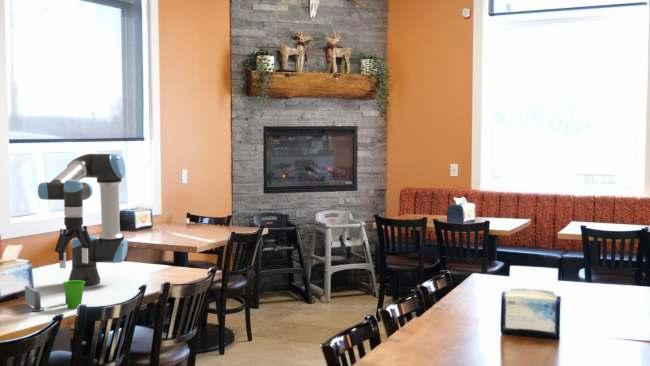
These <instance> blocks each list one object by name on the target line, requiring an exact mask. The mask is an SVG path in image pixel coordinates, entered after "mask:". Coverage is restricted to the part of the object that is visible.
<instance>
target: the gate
mask: <svg viewBox="0 0 650 366" xmlns="http://www.w3.org/2000/svg"><path fill="white" fill-rule="evenodd" d="M24 298H25V300H24V301H25V302H26V303H27V304H29V305H30V306H31V307H33V308H35V309H40V308H41V299H42V298H41V290H37V289H35V288H34V287H31V286H30V285H24Z"/></svg>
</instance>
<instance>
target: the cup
mask: <svg viewBox="0 0 650 366" xmlns="http://www.w3.org/2000/svg"><path fill="white" fill-rule="evenodd" d="M84 283H85V281H80V280H73V281H68V280H66V281H64V282H63V283H62V284H63V286H64V292H65V293H66V299H67V304H66V305H67V308H68V309H69V308H70V310H75V309H74V308H77V306H78V305H79V304H81V305H82V301H83V294H84V287H85V286H84ZM66 299H65V300H66Z"/></svg>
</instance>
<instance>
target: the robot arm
mask: <svg viewBox="0 0 650 366" xmlns="http://www.w3.org/2000/svg"><path fill="white" fill-rule="evenodd" d="M125 176H126V164H125V160H124V158H123V157H122V156H121V155H120V154H117V153H86V154H83V155H80V156H78V157H76V158H74V159H72V160H71V161H70V162H69V163H68V164H67V165H66V168H65V169H64V170H62V171H61V172H60V173H59V174H58V175H56V176H55V177H54V178H52V180H50V181H49V182H46V181H44V182H40V183H39V185H38V187H37V194H38V195H37V196H38V198H39V199H40V200H45V201H46V200H47V201H50V200H51V201H64V202H63V204H64V205H63V208H64V209H63V210H64V211H63V212H64V213H63V215H64V224H63V225H64V226H65V229H64V228H61V229H60V230H59V236H58V239H57V242H56V245H55V248H54V252H56V254H57V253H58V261H59V268H60V269H66V268H67V253H66V250H67V247H68V246H69V244H70V242H71V270H70V273H69V277H68V279H67V281H73V280H80V281H85V283H84V287H86V286H88V287H89V286H95V285H98V284H100V283H101V276H100V274H99V271H98V267H97V266H98V265H97V263H108V264H118V263H122V262H124V261H125V259H126V255H127V253H128V246H129V245H128V240H127V239H126V238H124V234H123V233H122V232H121V222H120V219H121V218H120V191H119V189H120V188H119V187H120V186H119V184H120V183H121V182H122V179H123V178H125ZM84 178H85V179H87V178H92V179H93V178H94V179H96V183H97V184H99V186H100V189H99V190H100V212H101V213H100V214H101V216H100V217H101V234H100V235H98V236H99V237H97V235H89V232H88V227H87V225H84V218H83V215H84V212H83V211H84V209H83V208H84V207H83V205H84V202H83V201H85V200H88V199H89V198H91V197H92V195H93V192H94V191H93V187H92V185H91V184H89V183H88V182H83V181H82V179H84ZM71 240H72V241H71Z"/></svg>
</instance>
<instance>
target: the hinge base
mask: <svg viewBox="0 0 650 366" xmlns="http://www.w3.org/2000/svg"><path fill="white" fill-rule="evenodd" d="M30 309H31V312H32V313H40V312H44V311H45V308H44V307H41V308H40V309H35V308H34V307H33V308H30Z"/></svg>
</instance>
